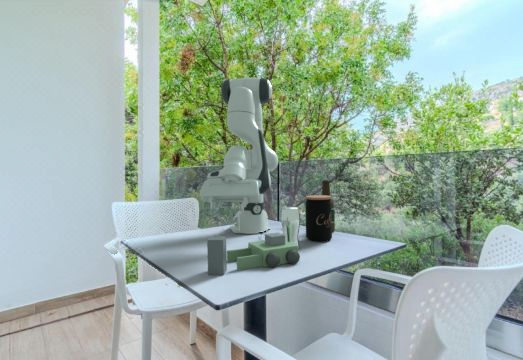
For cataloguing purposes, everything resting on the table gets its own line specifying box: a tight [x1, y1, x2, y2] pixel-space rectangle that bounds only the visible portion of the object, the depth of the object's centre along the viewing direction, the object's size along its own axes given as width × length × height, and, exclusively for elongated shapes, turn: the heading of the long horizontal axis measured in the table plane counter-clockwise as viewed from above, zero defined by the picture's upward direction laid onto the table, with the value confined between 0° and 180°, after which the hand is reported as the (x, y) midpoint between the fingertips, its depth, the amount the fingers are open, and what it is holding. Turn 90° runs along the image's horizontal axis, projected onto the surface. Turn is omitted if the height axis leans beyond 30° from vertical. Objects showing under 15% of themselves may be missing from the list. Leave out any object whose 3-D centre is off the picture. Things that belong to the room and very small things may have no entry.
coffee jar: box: [304, 194, 333, 243], centre depth 130 cm, size 11×11×18 cm
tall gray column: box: [206, 236, 228, 276], centre depth 90 cm, size 4×4×10 cm
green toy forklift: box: [226, 232, 301, 271], centre depth 101 cm, size 16×20×8 cm
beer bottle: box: [321, 179, 336, 233], centre depth 146 cm, size 8×8×24 cm
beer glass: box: [280, 206, 301, 249], centre depth 117 cm, size 7×7×15 cm
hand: (226, 209), depth 102 cm, fingers open, 8 cm apart
